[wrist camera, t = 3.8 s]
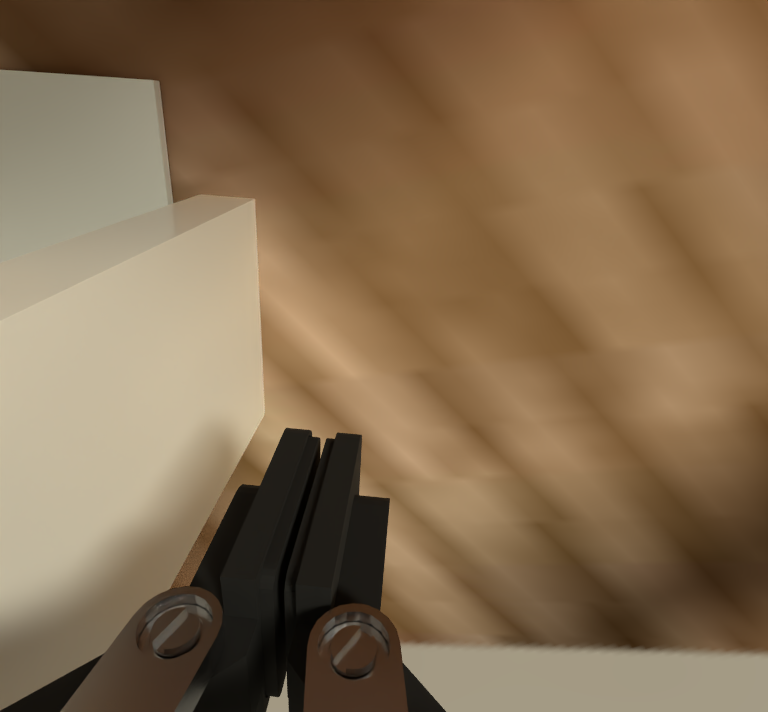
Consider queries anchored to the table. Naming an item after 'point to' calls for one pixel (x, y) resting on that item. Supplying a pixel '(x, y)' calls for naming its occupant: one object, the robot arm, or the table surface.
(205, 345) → the glazed tile
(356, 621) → the robot arm
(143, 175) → the mat
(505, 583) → the table surface
